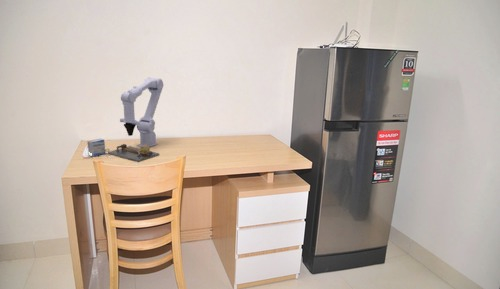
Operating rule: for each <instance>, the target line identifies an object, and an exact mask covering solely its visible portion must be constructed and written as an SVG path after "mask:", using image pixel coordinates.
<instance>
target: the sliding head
mask: <svg viewBox="0 0 500 289" xmlns="http://www.w3.org/2000/svg"><path fill="white" fill-rule="evenodd" d="M139 149H141V150H139V151H138V156H140V152H141V153H142V154H147V153H148V152H150V151H151V150H150V147H149V145H143V146H139Z"/></svg>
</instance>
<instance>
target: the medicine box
mask: <svg viewBox="0 0 500 289" xmlns="http://www.w3.org/2000/svg"><path fill="white" fill-rule="evenodd" d="M86 142H87V150H88V151H87V152H88V153H89V152H90V153H92V156H91V157H93V158H95V157H99V156H102V155H105V154H106V145H105V143H106V142H105V139H103V138H96V139H93V140H87V141H86Z"/></svg>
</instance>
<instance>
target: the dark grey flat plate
mask: <svg viewBox="0 0 500 289" xmlns="http://www.w3.org/2000/svg"><path fill="white" fill-rule="evenodd" d="M127 148H129V149H133V150H137V151H139V150H141V149H140V147H139V148H138V147H135V146H132V145H131V146H130V145H129V146H127ZM118 150H119V151H117V149H114V150H111V151H107V155H110V156H114V157H119V158H122V159H125V160H129V161H133V162H136V163H140V162H144V161H147V160H149V159H152V158H155V157H158V156H160V153H158V152H154V151H152V156H146V155H142V154H140V156H138V153H134V152H130V151H126V150H122V149H121V148H118ZM150 152H151V150H150Z"/></svg>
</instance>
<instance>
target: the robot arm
mask: <svg viewBox="0 0 500 289" xmlns="http://www.w3.org/2000/svg"><path fill="white" fill-rule="evenodd" d="M163 89H164V81H163V79H162V78H154V77H153V78H152V77H147V78H146V79H144V82H142V83H141V84H140V85H138V86H137V85H134V86H133V87H132V88H131V89H128V91H127V92H126V91H124V92H122V94H121V96H120V101H121V102H122V103H121V104H122V105H123V117H124V118H119V123H123V126H124V128H125V129H126V132H127V135H128V137H131V136H133V134H134V130H135V128H136V129H137V131H138V133H139V139H140V143H139V144H137V146H138V147H140V146H143V145H149V148H150V147H153V146H157V145H158V143H157V139H156V138H157V136H156V132H155V131H154V130H155V128H156V127H155V125H156V121H155V120H154V116H155V113H156V109H157V106H158V103H159V100H160V97H161V93H162V91H163ZM145 90H147V91H149V93H150V94H151V95H150V96H149V97H150V98H149V101H148V104H147V106H146V109H145V113H144V116H141V117H140V119H139V121H138V120H136V118H135V102H136V100H137V99H138V97H140V96H141V95H143V92H144V91H145Z"/></svg>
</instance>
